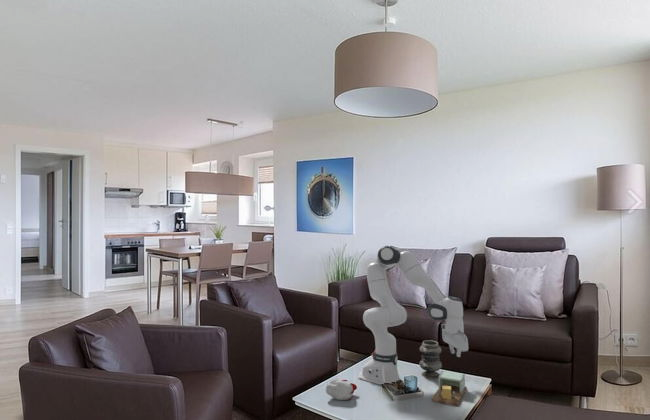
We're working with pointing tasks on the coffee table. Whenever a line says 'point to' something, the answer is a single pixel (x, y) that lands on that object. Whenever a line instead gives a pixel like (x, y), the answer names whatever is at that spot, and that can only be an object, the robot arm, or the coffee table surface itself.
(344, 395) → the white red lumpy figurine
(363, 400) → the coffee table surface
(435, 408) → the coffee table surface
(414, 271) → the robot arm
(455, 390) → the housing base
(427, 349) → the apothecary jar
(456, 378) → the housing cover
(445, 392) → the yellow cube
